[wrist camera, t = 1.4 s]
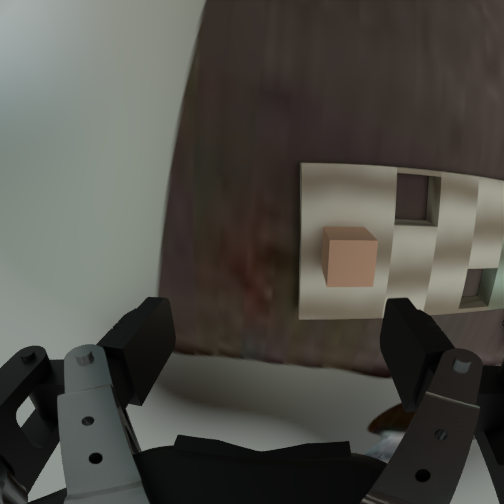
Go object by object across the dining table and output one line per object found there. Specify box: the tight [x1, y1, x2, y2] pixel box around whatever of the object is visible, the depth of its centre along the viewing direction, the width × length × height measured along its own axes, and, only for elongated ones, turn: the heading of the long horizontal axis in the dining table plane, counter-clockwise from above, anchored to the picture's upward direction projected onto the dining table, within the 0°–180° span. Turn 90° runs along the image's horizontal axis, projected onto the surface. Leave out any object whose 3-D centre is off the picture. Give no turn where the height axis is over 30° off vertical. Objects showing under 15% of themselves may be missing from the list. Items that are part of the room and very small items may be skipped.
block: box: [321, 227, 378, 287], centre depth 26 cm, size 4×4×4 cm
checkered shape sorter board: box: [298, 162, 504, 319], centre depth 26 cm, size 16×30×6 cm, turn 91°
